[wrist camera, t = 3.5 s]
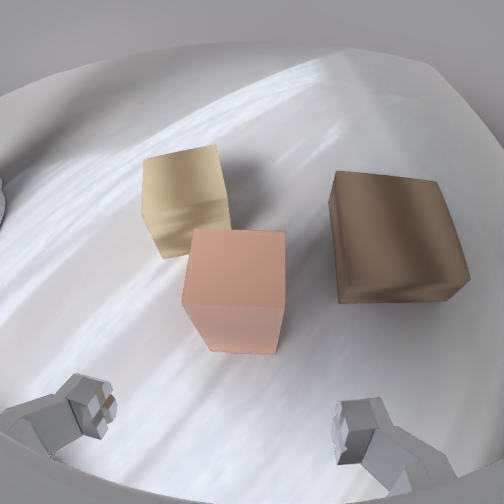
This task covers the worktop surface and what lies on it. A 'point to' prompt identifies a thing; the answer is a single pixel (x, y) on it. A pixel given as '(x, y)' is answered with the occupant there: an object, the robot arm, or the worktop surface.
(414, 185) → the walnut block
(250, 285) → the terracotta block
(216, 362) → the worktop surface
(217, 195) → the oak cube
